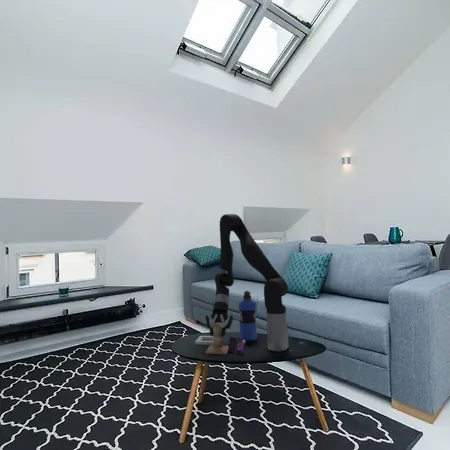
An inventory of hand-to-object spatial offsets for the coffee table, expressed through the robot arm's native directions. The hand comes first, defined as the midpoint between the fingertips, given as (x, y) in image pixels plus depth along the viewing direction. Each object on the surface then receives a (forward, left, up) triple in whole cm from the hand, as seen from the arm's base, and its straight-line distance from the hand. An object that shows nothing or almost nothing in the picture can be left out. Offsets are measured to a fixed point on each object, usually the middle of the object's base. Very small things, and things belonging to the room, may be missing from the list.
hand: (217, 335), depth 158 cm
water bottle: (-25, -5, -8) cm, 27 cm away
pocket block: (-6, -16, -8) cm, 19 cm away
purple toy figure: (-7, +7, -8) cm, 13 cm away
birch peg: (-1, -1, -6) cm, 6 cm away
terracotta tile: (-1, -1, -8) cm, 8 cm away
